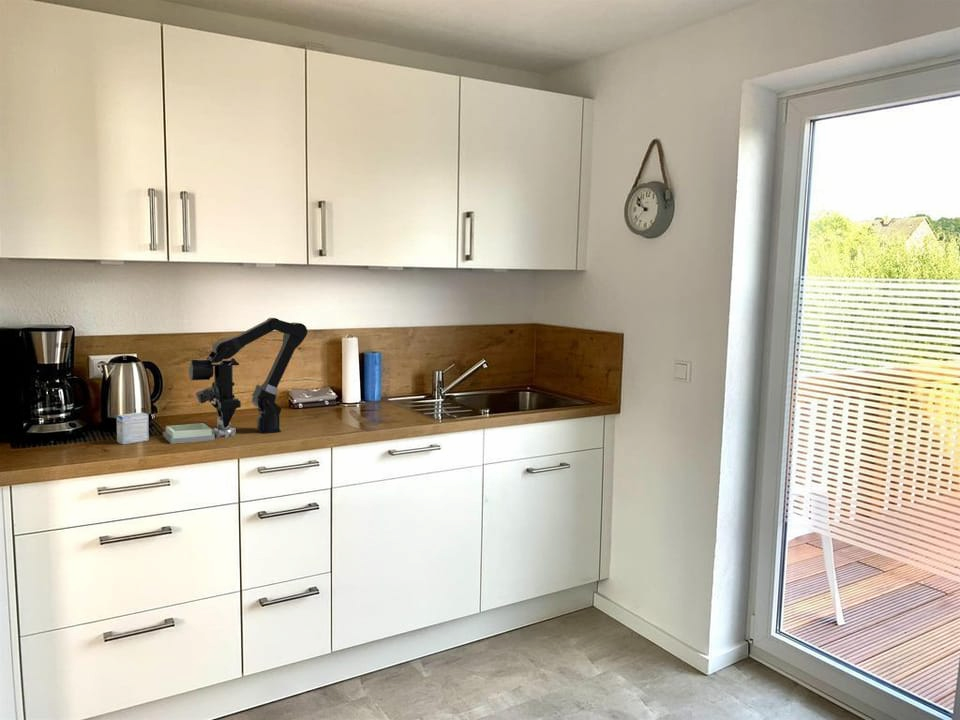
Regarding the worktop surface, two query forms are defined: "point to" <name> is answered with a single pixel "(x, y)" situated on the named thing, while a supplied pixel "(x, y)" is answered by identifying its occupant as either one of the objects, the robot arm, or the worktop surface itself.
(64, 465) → the worktop surface
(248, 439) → the worktop surface
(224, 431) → the gear
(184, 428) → the square tray
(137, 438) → the medicine box
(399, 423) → the worktop surface
